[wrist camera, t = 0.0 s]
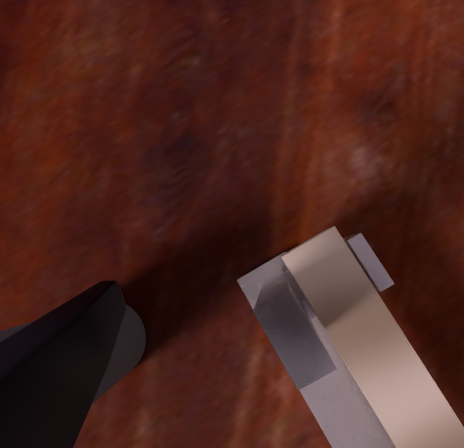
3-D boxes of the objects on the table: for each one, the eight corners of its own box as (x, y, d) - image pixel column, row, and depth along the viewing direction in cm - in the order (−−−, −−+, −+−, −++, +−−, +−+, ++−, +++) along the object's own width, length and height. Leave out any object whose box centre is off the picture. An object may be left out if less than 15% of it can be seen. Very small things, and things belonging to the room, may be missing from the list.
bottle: (138, 292, 24) (-84, 359, 9) (154, 368, 23) (-58, 576, 8) (70, 308, 24) (-240, 397, 10) (84, 383, 24) (-228, 602, 9)
